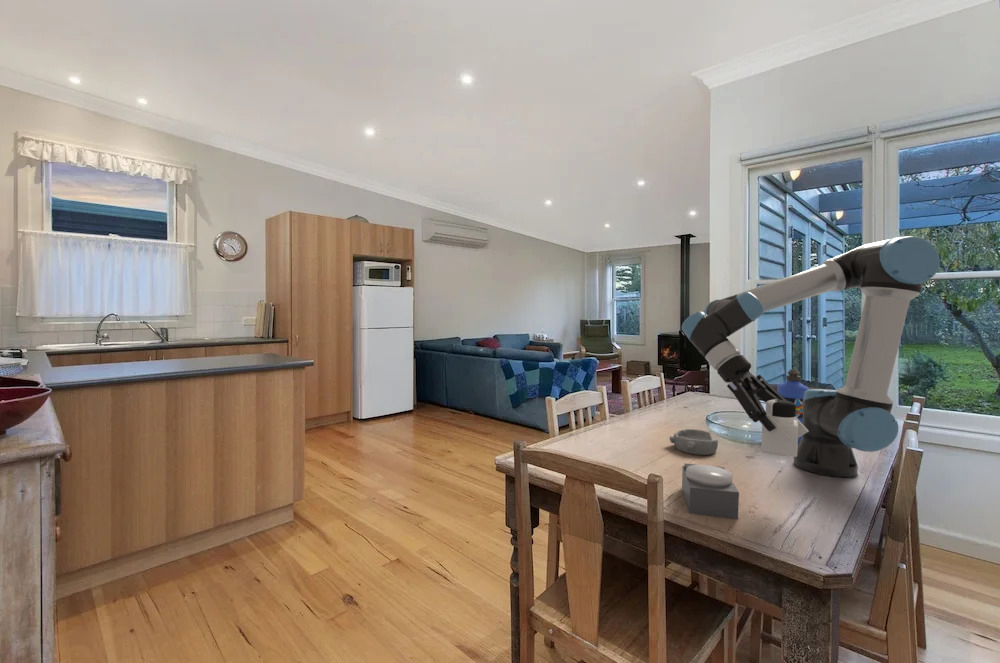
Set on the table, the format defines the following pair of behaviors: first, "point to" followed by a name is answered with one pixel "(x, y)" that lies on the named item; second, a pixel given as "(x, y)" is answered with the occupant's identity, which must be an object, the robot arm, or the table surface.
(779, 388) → the water bottle
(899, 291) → the robot arm
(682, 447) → the dish
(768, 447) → the medicine bottle
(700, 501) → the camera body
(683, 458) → the table surface
